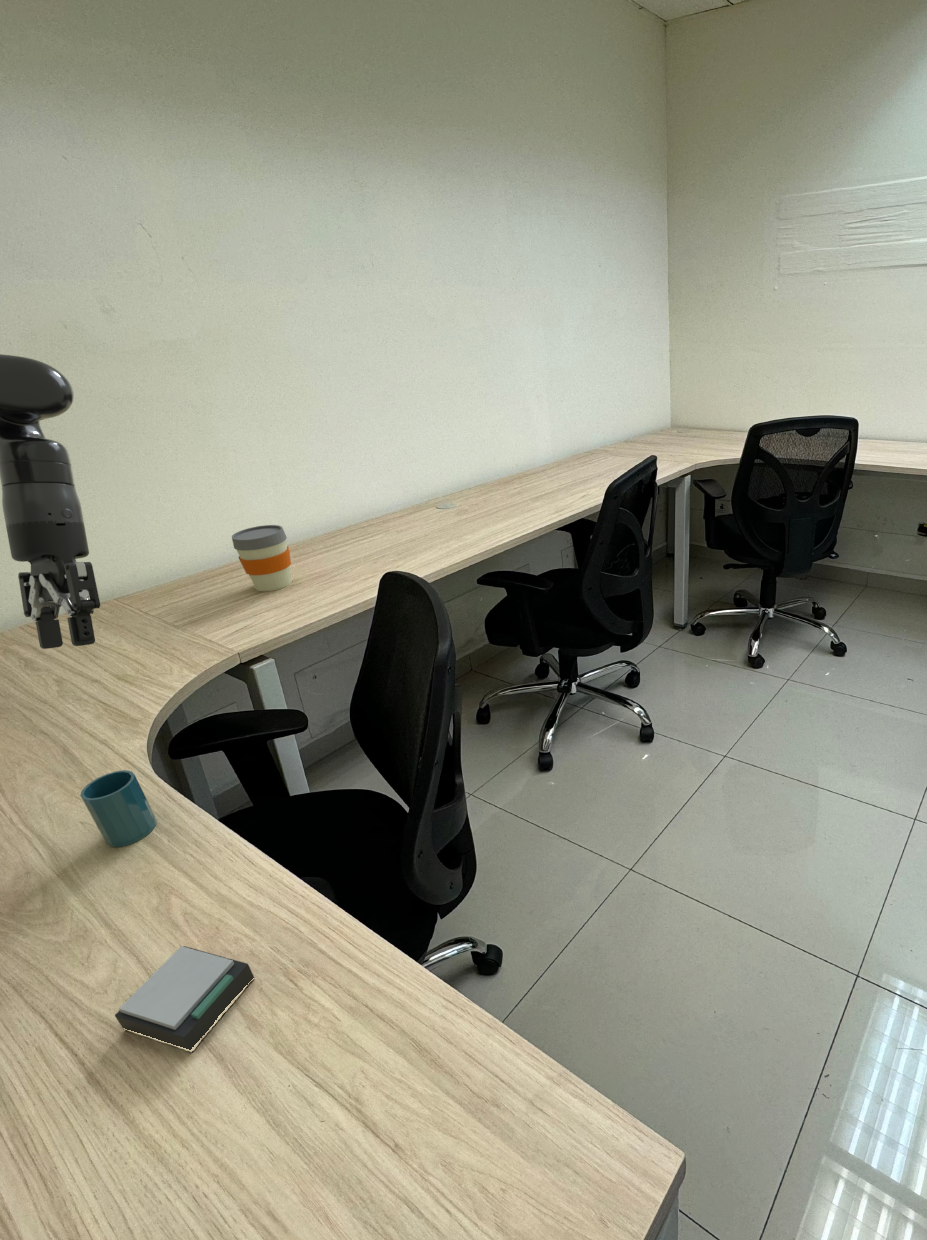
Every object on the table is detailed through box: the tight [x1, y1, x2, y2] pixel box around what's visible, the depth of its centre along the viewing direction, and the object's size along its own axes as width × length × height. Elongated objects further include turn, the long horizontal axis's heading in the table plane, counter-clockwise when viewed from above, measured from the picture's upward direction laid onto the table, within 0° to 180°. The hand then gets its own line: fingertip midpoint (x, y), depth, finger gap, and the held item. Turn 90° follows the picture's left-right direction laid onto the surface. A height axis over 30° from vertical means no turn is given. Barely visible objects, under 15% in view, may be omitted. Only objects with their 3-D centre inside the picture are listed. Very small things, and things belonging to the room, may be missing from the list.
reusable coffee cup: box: [231, 524, 293, 592], centre depth 172 cm, size 13×13×15 cm
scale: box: [114, 945, 255, 1050], centre depth 67 cm, size 9×8×3 cm
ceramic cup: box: [79, 769, 158, 848], centre depth 90 cm, size 6×6×8 cm
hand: (67, 646), depth 84 cm, fingers open, 8 cm apart
